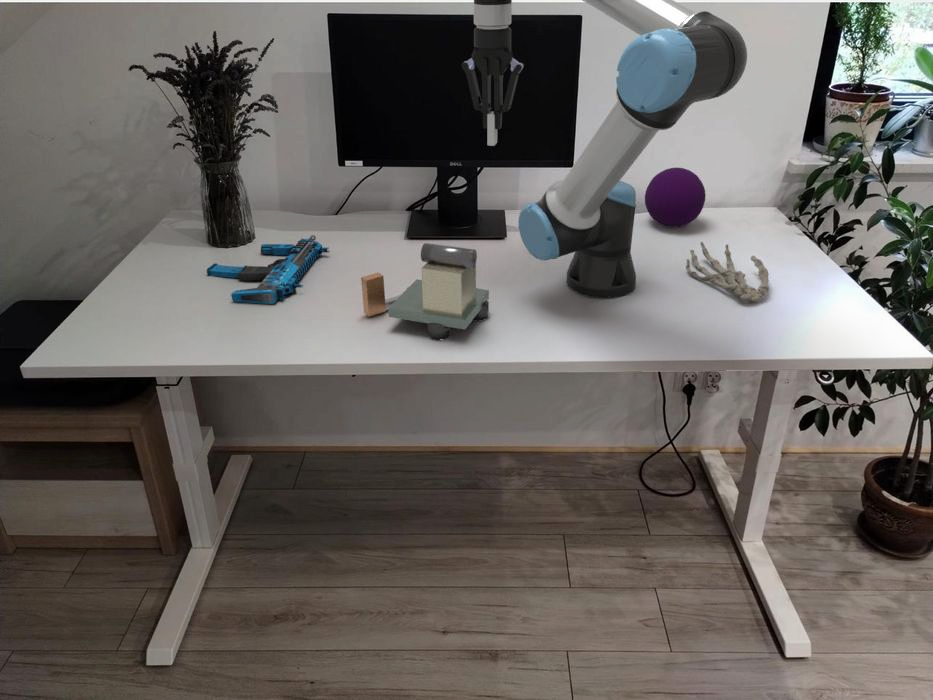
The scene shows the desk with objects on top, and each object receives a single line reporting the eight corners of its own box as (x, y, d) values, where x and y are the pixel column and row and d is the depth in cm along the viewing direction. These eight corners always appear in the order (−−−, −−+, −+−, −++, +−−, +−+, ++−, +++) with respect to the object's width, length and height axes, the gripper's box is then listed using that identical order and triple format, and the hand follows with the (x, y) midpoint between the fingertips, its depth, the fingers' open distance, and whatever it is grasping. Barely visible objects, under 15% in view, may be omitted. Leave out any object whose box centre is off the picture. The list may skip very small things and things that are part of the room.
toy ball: (679, 240, 196) (686, 182, 188) (630, 225, 205) (635, 168, 198) (712, 225, 204) (721, 168, 197) (664, 211, 214) (670, 156, 206)
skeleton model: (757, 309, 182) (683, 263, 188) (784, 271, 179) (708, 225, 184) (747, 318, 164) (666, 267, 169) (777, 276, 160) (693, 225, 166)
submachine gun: (242, 230, 198) (338, 230, 194) (245, 244, 200) (340, 244, 196) (180, 289, 168) (292, 290, 165) (184, 305, 170) (295, 306, 167)
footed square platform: (491, 312, 163) (492, 233, 154) (467, 345, 151) (466, 262, 142) (417, 300, 168) (414, 223, 159) (388, 331, 156) (382, 250, 148)
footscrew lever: (420, 292, 171) (419, 257, 167) (432, 299, 167) (431, 264, 163) (360, 311, 163) (357, 275, 159) (372, 319, 160) (369, 282, 156)
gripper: (528, 24, 159) (525, 141, 171) (466, 23, 163) (468, 137, 174) (520, 29, 153) (518, 150, 165) (456, 28, 156) (458, 146, 168)
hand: (492, 143), depth 169 cm, fingers closed
